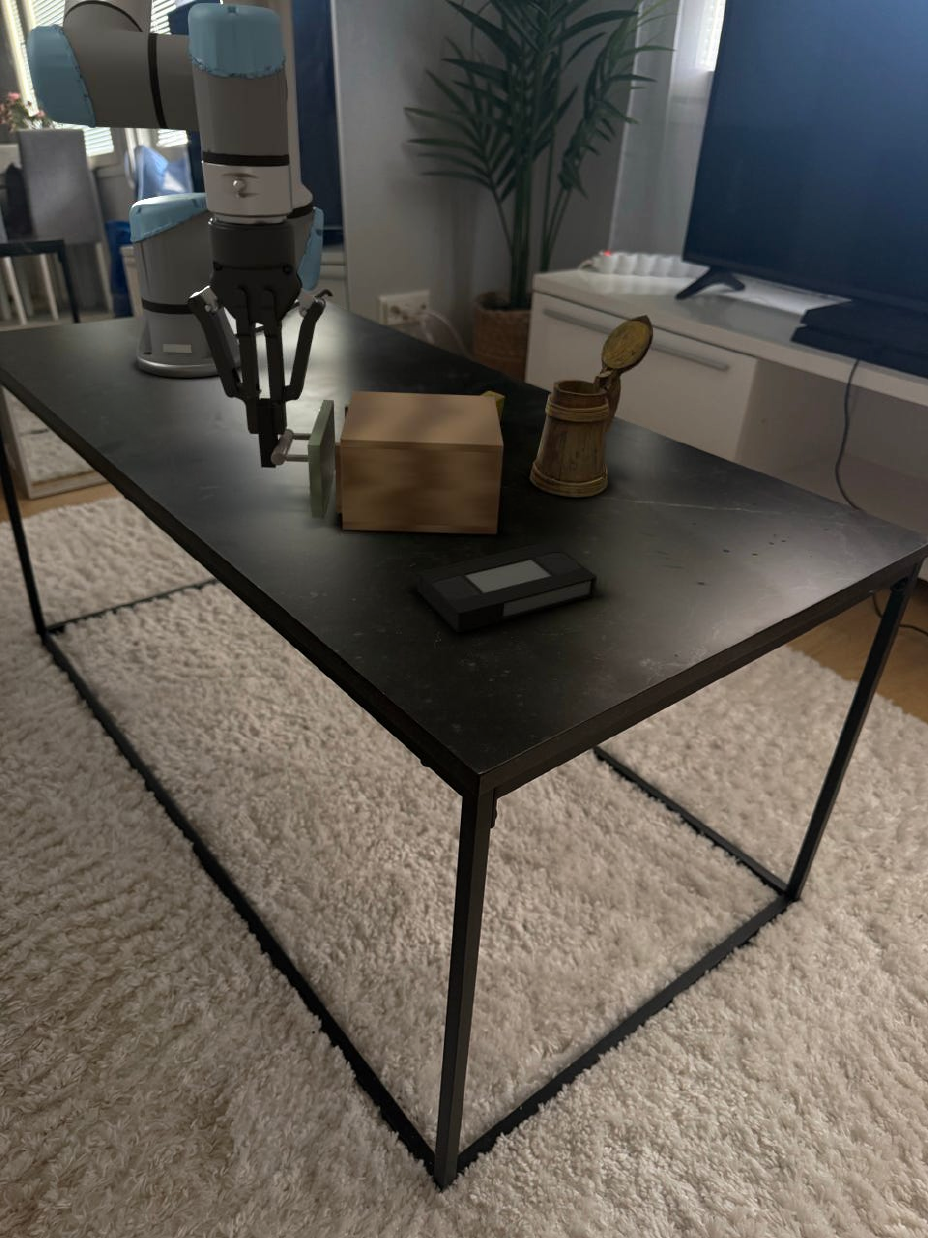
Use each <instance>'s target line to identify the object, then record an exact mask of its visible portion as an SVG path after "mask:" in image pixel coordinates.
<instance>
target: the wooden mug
mask: <svg viewBox="0 0 928 1238" xmlns="http://www.w3.org/2000/svg"><path fill="white" fill-rule="evenodd" d="M653 340H654V328H653V324H652V322H651V320H650V318H649V316H648V315H647V314H645V315H640V316H636V317H633V318H630V319H628V320H626V321H624V322H622V323H620V324H619V325H617V326H616V327H615V328H614V329H613V330H612V331H611V333H610V334H609V335H608V337H607V339H606V340H605V342H604V344H603V347H602V351H601V354H600V355H601V356H600V358H601V359H600V360H601V366H602V368H601V370H600V372H599V374H598V375H596V376H595V378H594V380H593V382H590V381H585V380H580V379H562V380H558V381H555V382H554V383H553V385H552V389H551V393H550V394H549V395H548V397H547V402H546V405H545V413H546V417H545V422H544V426H543V430H542V435H541V439H540V442H539V447H538V451H537V455H536V458H535V460H534V461H533V463H532V467H531V471H530V476H529V480H530V482H531V483H532V485H534V486H535V487H537V488H538V489H540V490H541V491H543V492H546V493H548V494H552V495H555V496H556V495H557V496H560V497H561V496H562V497H568V498H569V497H570V498H587V497H593V496H595V495H598V494H600V493H602V492H603V491H604V490H605V489H607V487H608V483H609V482H608V477H609V475H608V470H609V469H608V467H607V465H606V450H607V449H606V445H607V443H606V439H607V437H606V435H607V433H608V430H609V428H610V426H611V424H612V422H613V419H614V418H615V415H616V413H617V411H618V408H619V407H618V406H619V402H620V399H621V391H622V380H621V377H622V375H623V374H625V373H627V372H629V371H631V370H633V369H634V368H636V367H638V365H639V364H640V363H641V362H642V361H643V360H644V359H645V357H646V356H647V354H648V352H649V350H650V348H651V345H652V343H653Z"/></svg>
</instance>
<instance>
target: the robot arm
mask: <svg viewBox="0 0 928 1238" xmlns="http://www.w3.org/2000/svg"><path fill="white" fill-rule="evenodd" d="M152 9H153V0H64V8H63V17H62V25H59V24H58V23H53V24H51V25H37V26H35V27H34V28H31V29H30V30H29V33H28V35H27V40H26V55H27V56H26V57H27V63H28V70H29V76H30V80H31V84H32V88H33V92H34V94H35V97H36V100H37V102H38V104H39V107H40V109H41V110H42V112H43V114H44V115H45V116H46V117H47V118H48V119H49V120H50V121H52V122H55V123H58V124H64V125H65V124H66V125H74V126H75V125H76V126H84V127H85V126H86V127H89V128H90V129H96V128H108V129H109V128H111V129H114V128H115V129H146V130H148V129H150V130H169V131H185V132H186V131H187V132H188V131H189V132H199V136H200V145H201V166H202V174H203V184H204V192H185V193H175V194H174V193H173V194H166V195H161V196H155V197H150V198H147V199H142V200H140V201H137V202H135V203H134V204H133V205H132V206H131V208H130V211H129V216H128V217H129V226H130V227H129V228H130V238H129V239H130V243H132V249H133V256H134V263H135V269H136V275H137V282H138V288H139V295H140V300H141V308H142V317H141V321H140V322H141V323H140V327H139V335H138V340H137V347H136V353H135V354H136V360H137V366H138V368H139V369H140V370H142V371H144V372H146V373H148V374H151V375H154V376H160V377H169V378H182V379H183V378H186V379H187V378H203V377H211V376H217V375H218V377H219V380H220V383H221V386H222V388H223V391H224V393H225V396H226V397H228V398H229V399H238V400H240V401H242V403H243V404H244V406H245V414H246V415H245V416H246V426H247V430H248V433H249V434H250V435H258V445H259V446H258V447H259V457H260V458H259V459H260V468H261V469H264V468H265V469H276V468H277V465H275V464H273V463H272V461H271V456H272V454H273V451H274V449H275V447H276V444H277V442H278V440H279V436H280V435H284V433H285V431H286V429H288V428H287V427H288V417H287V415H288V414H287V403H288V402H290V401H298V400H300V396H301V395H302V393H303V390H304V387H305V382H306V377H307V371H308V366H309V361H310V356H311V350H312V346H313V341H314V335H315V331H316V325H317V324H318V323H317V322H318V321H319V319H320V318H321V316H322V315H323V312H324V311H325V309H326V306H327V302H326V300H325V298H323V297H324V296H325V295H327V297H330V298H331V297H334V295H333V293H332V292H331V290H330V289H328V288H325V289H322V290H321V291H319V292H318V293H316V294H315V295H313V294H312V292H314V291H315V290H316V289H317V286H318V284H319V280H320V274H321V268H322V267H321V266H322V256H323V243H324V242H323V241H324V237H323V236H324V222H325V221H324V220H325V219H324V212H323V210H322V209H321V208H319V207H317V206H314V199H313V198H314V197H313V194H312V192H311V191H310V190H309V189H308V188H307V187H306V186H305V185H304V184H303V182H302V176H301V175H302V173H301V156H300V136H299V116H298V114H299V113H298V95H297V94H298V93H297V73H296V53H295V35H294V34H295V33H294V13H293V0H220V2H199V3H196V4H193V5H192V6H191V7H190V9H189V11H188V16H187V21H188V23H187V24H188V34H187V35H185V34H173V33H172V34H171V33H159V32H151V29H152V27H151V26H152V13H153V12H152V11H153V10H152ZM296 308H298V314H299V316H300V317H301V318H302V321H301V323H300V327H299V329H298V336H297V340H296V347H295V353H294V357H293V363H292V364H293V365H292V368H291V374H290V379H289V384H286V375H285V374H286V373H285V372H286V371H285V358H284V345H283V344H284V343H283V321H284V320H285V318H286V317H287V315H288V313H290V312H291V311H292V310H295V309H296ZM226 311H227V312H228V314H229V315H230V316H231V318H233V319H234V320H235V321H234V322H235V330H236V331H235V332H236V333H235V332H234V329H233V328H232V325H231V322H230V320H229V318H228V315H227V313H226ZM257 324H258V325H259V326H257ZM259 333H263V337H264V341H265V354H266V365H267V378H268V380H267V381H268V391H269V397H261V393H262V390H263V389H261V382H260V372H259V371H260V370H259V358H258V357H259V356H258V345H257V334H259ZM239 367H240V372H241V377H240V375H239V372H238V368H239Z"/></svg>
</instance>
